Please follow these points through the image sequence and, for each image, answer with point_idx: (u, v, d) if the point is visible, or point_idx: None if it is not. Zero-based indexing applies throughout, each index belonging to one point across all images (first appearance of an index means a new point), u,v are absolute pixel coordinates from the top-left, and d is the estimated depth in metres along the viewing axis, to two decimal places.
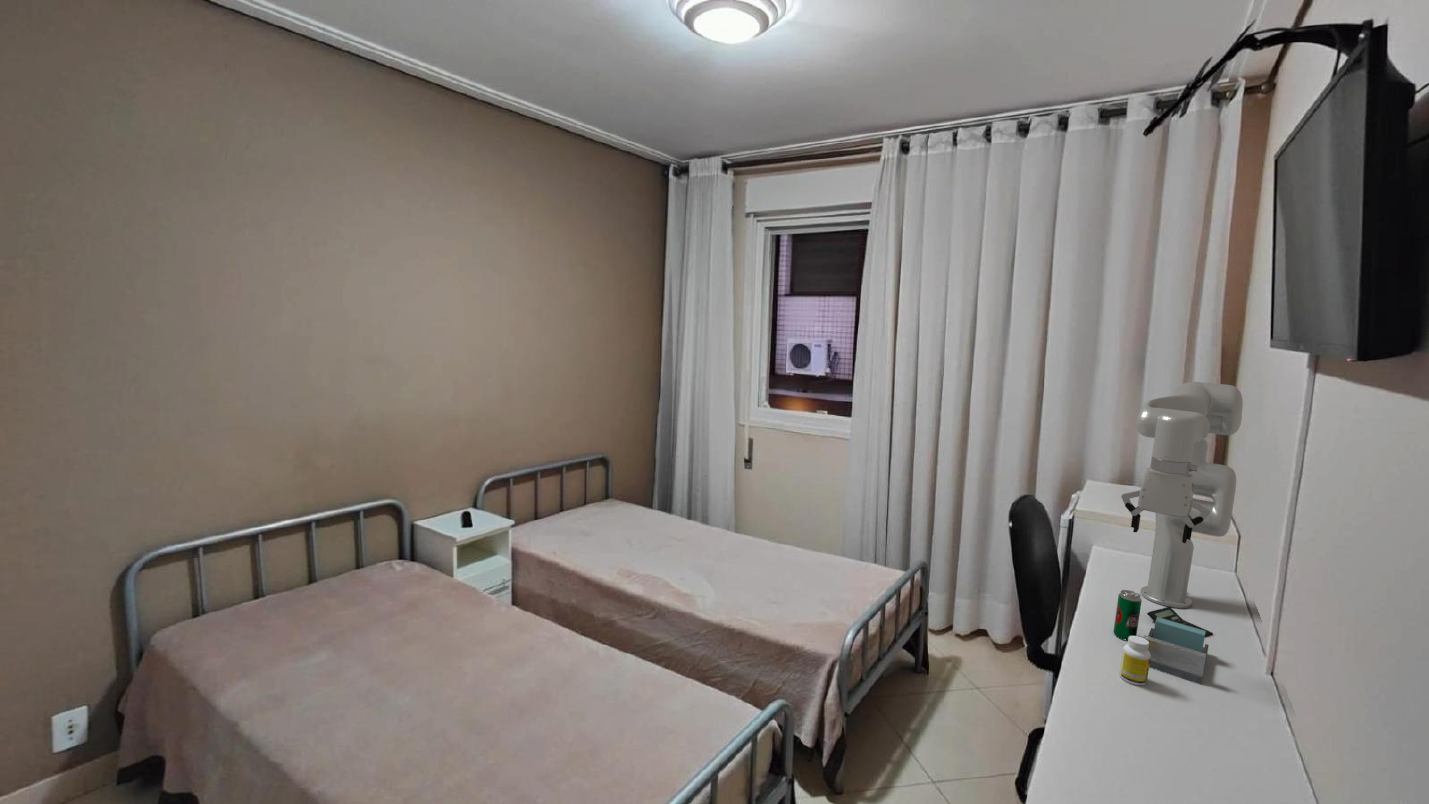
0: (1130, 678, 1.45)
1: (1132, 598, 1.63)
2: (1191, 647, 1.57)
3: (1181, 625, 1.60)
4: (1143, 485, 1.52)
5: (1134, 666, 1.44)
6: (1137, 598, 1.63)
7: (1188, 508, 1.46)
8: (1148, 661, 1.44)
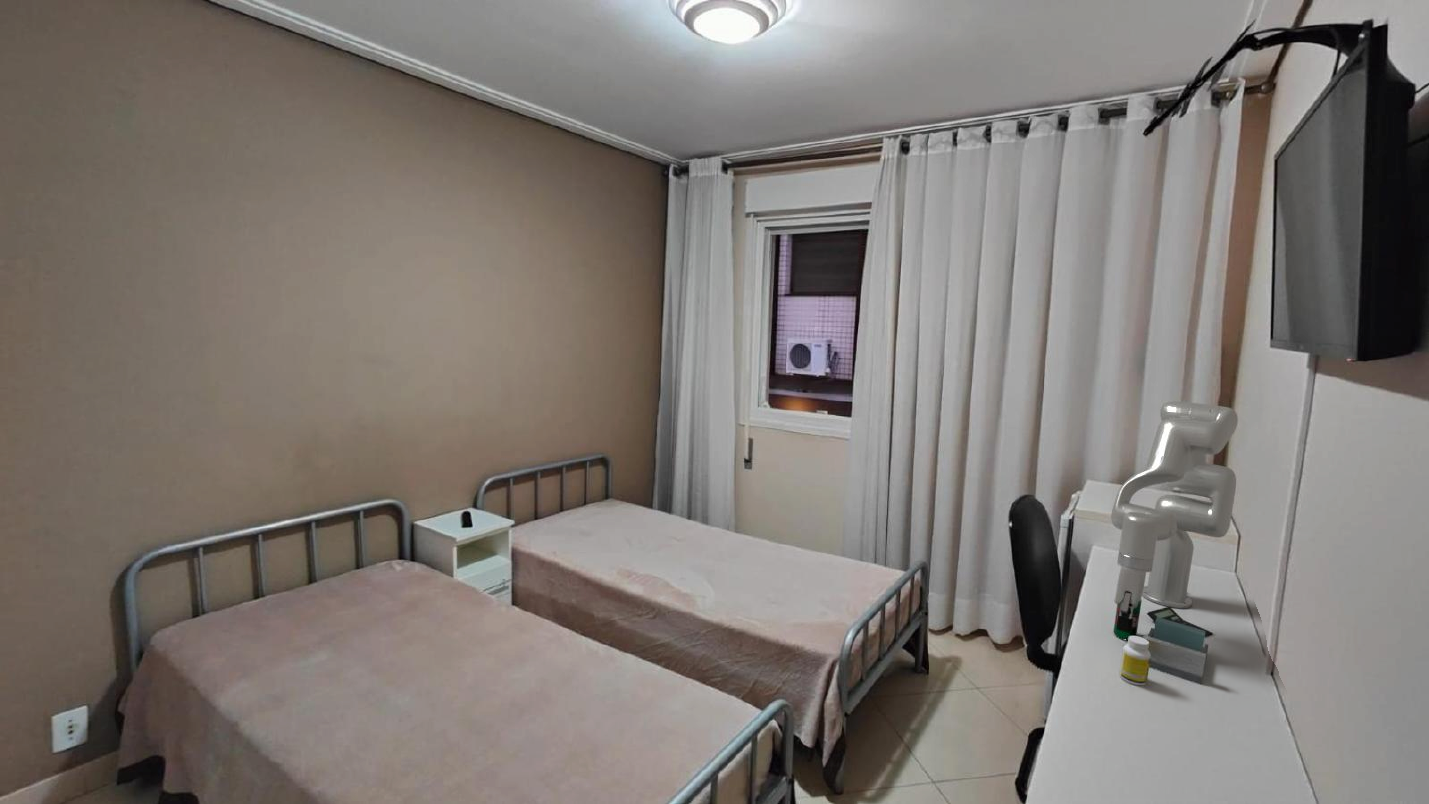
0: (1130, 678, 1.45)
1: None
2: (1191, 647, 1.57)
3: (1181, 625, 1.60)
4: (1138, 587, 1.60)
5: (1134, 666, 1.44)
6: None
7: None
8: (1148, 661, 1.44)
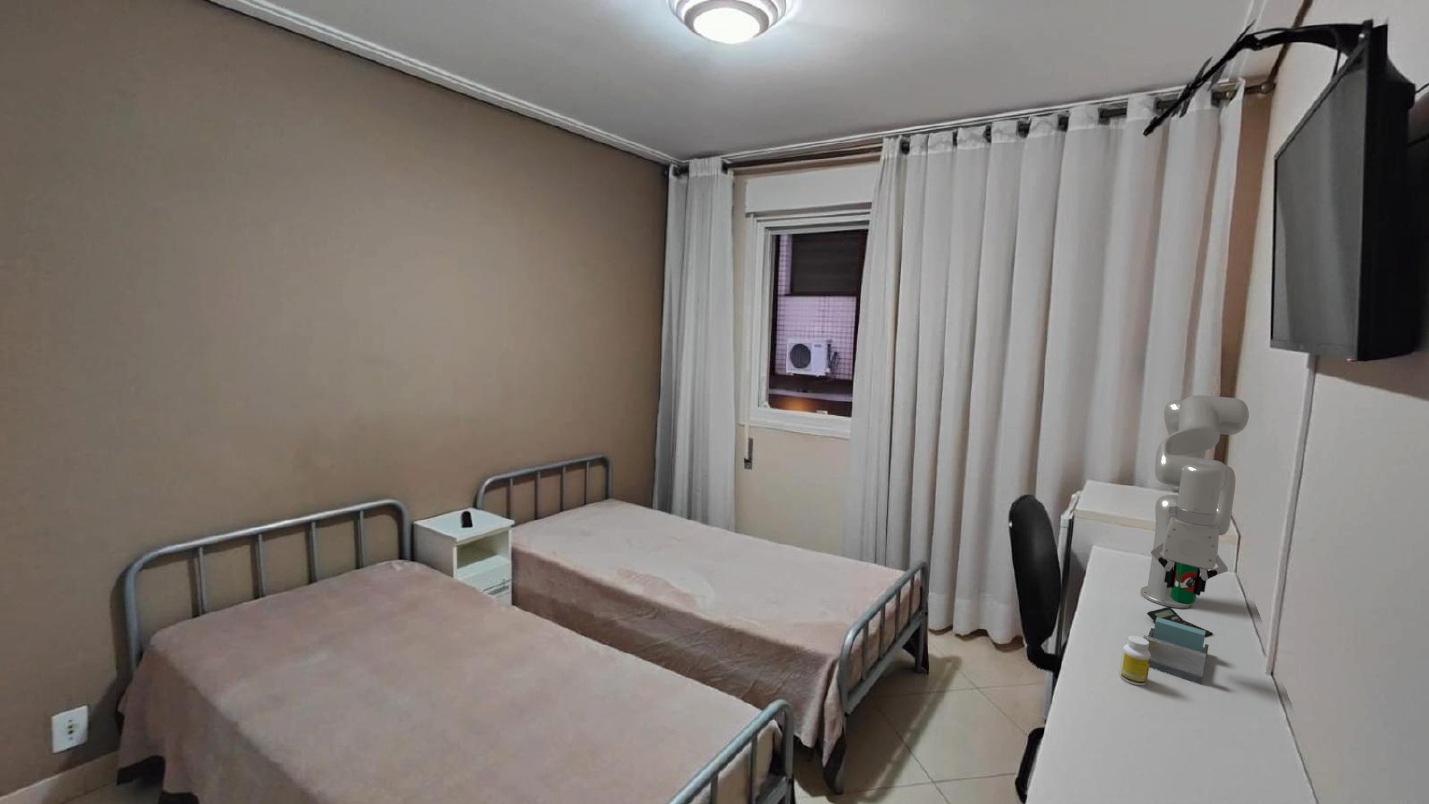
0: (1130, 678, 1.45)
1: None
2: (1191, 647, 1.57)
3: (1181, 625, 1.60)
4: None
5: (1134, 666, 1.44)
6: None
7: None
8: (1148, 661, 1.44)
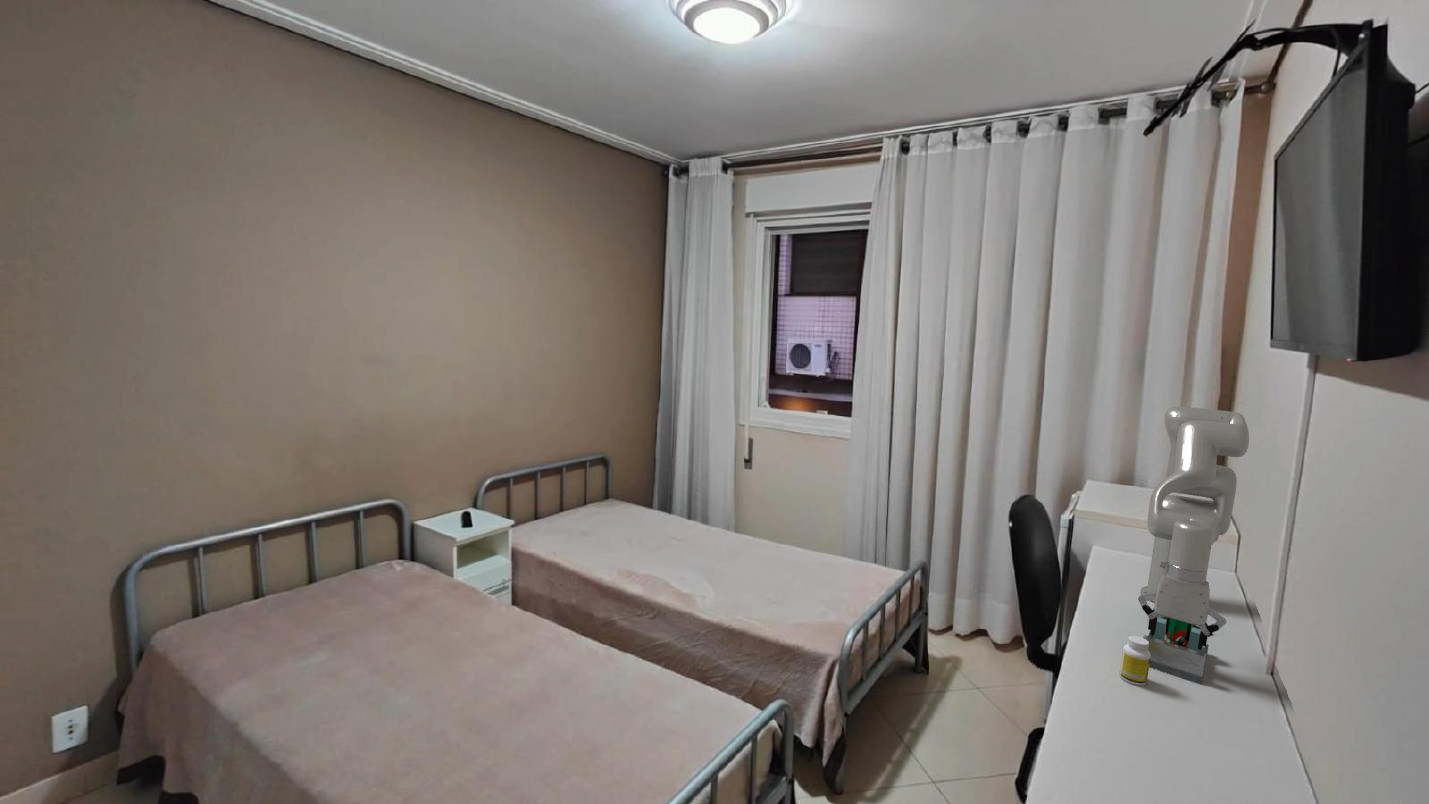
0: (1130, 678, 1.45)
1: None
2: (1191, 647, 1.57)
3: None
4: None
5: (1134, 666, 1.44)
6: None
7: None
8: (1148, 661, 1.44)
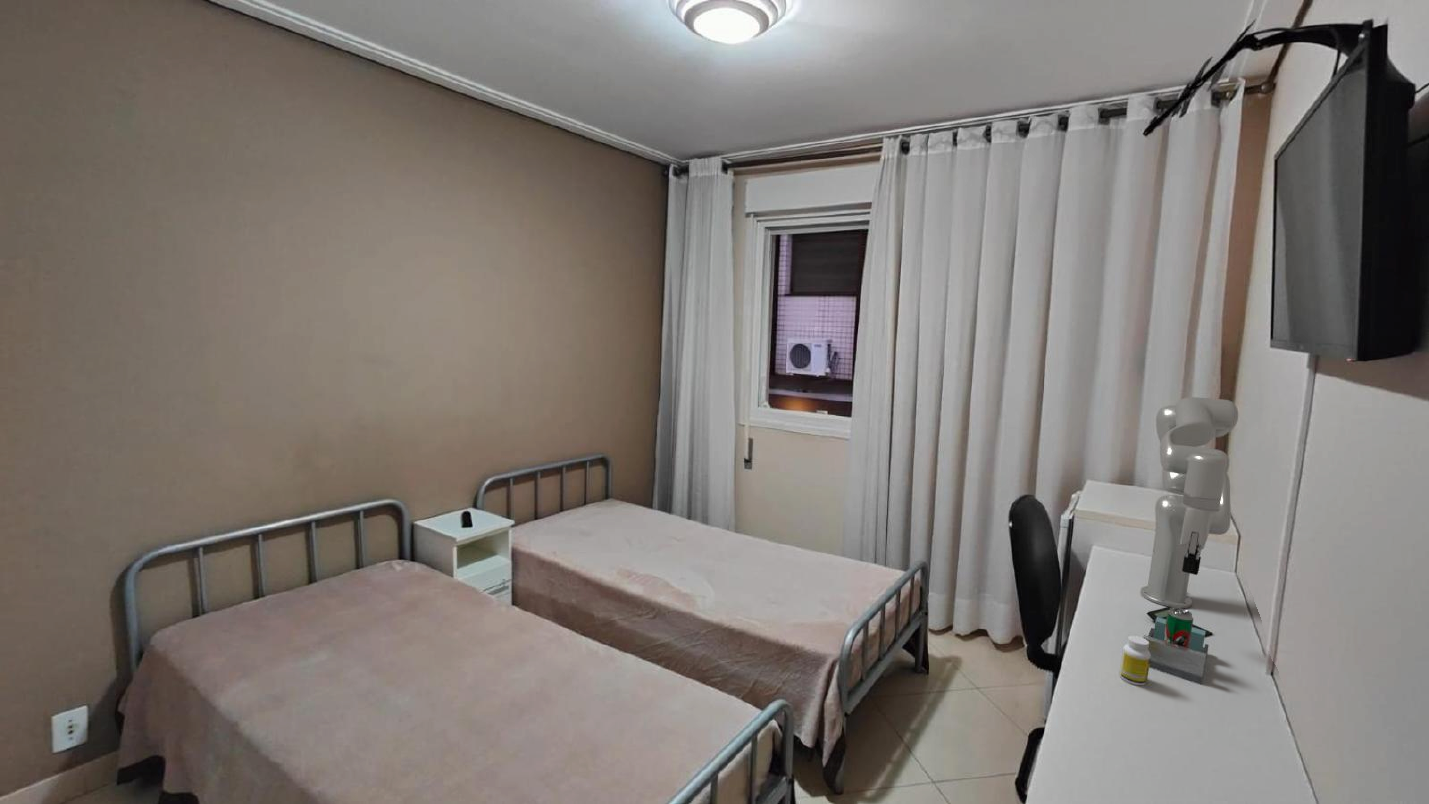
0: (1130, 678, 1.45)
1: None
2: (1191, 647, 1.57)
3: None
4: (1206, 528, 1.56)
5: (1134, 666, 1.44)
6: None
7: None
8: (1148, 661, 1.44)
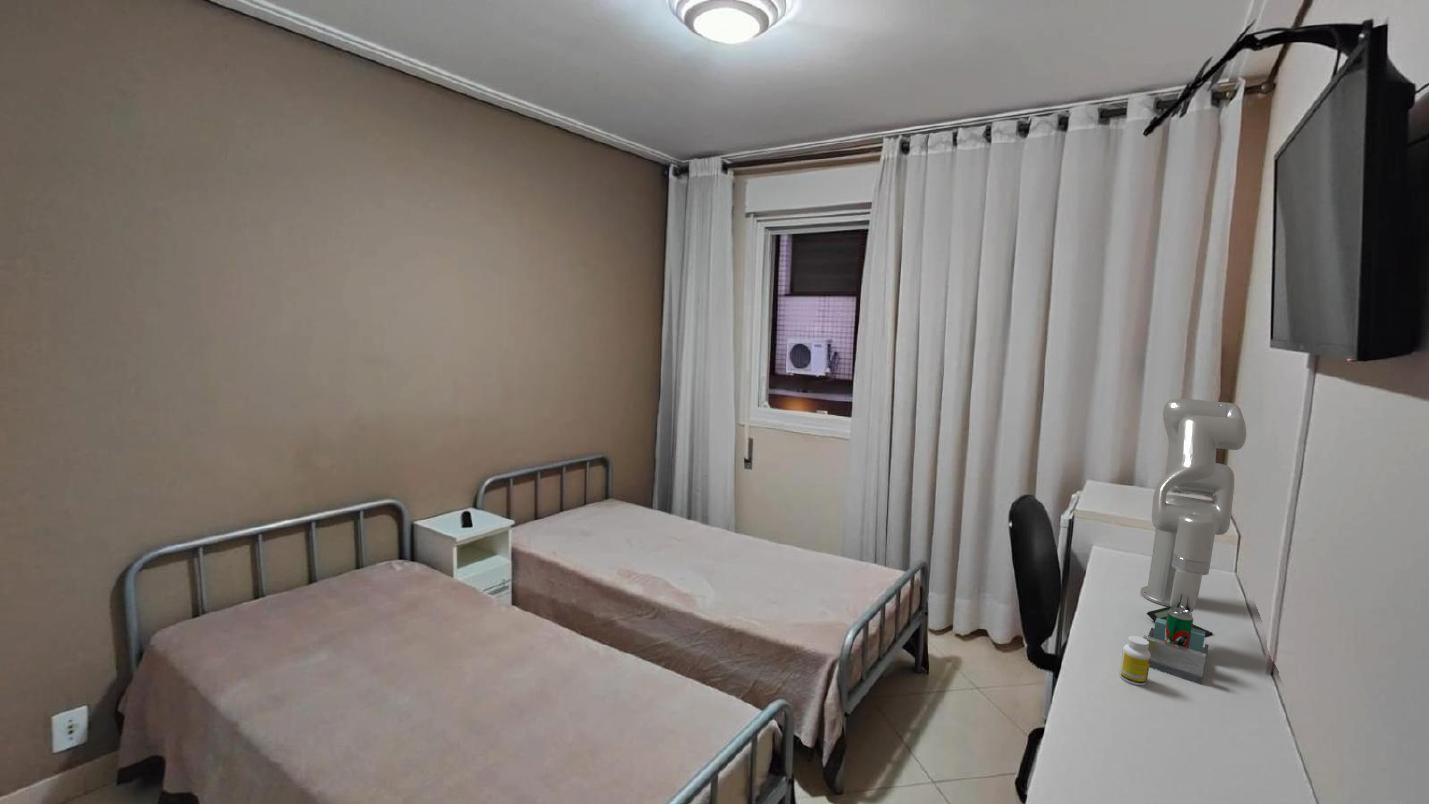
0: (1130, 678, 1.45)
1: None
2: (1191, 648, 1.57)
3: None
4: (1196, 591, 1.56)
5: (1134, 666, 1.44)
6: None
7: None
8: (1148, 661, 1.44)
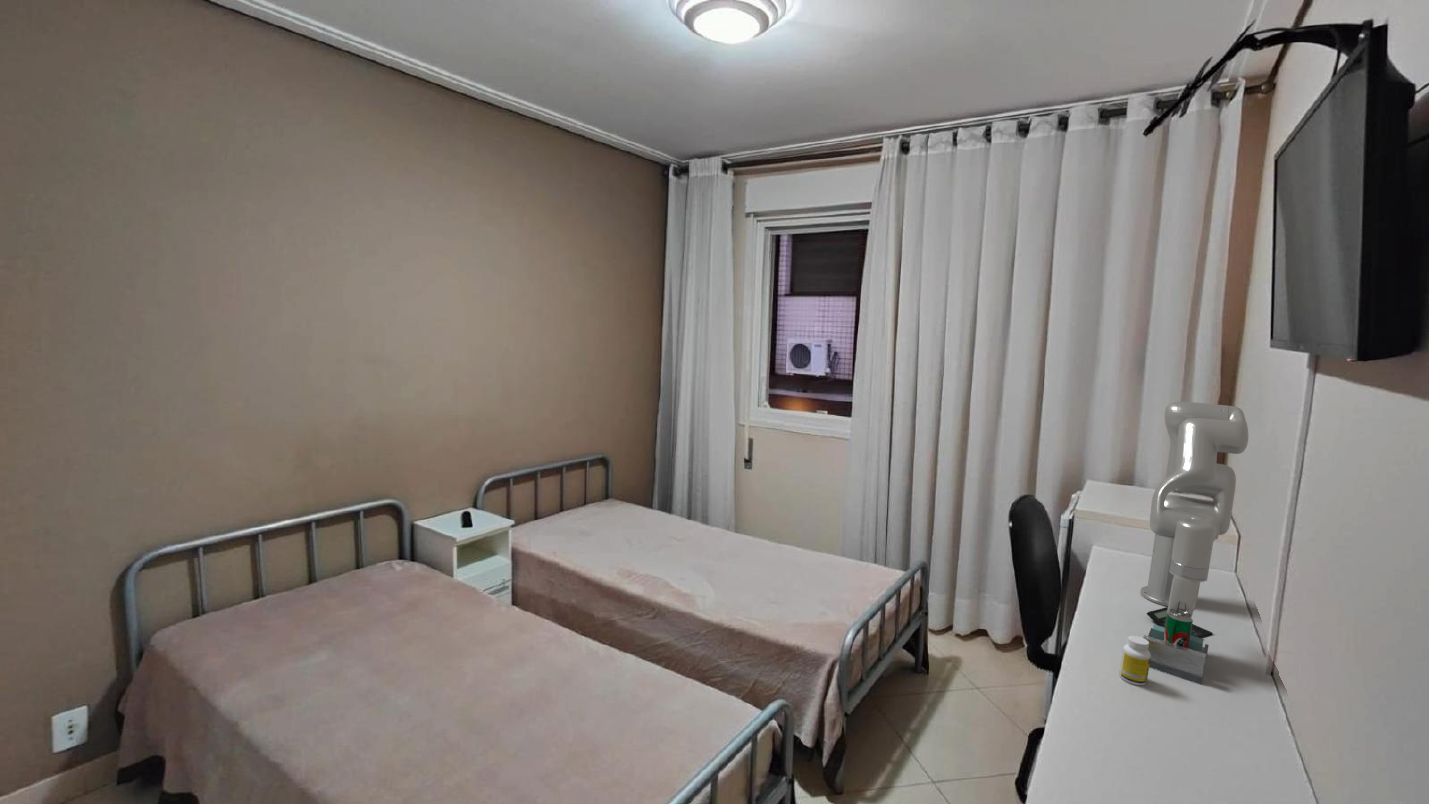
0: (1130, 678, 1.45)
1: None
2: None
3: None
4: (1194, 598, 1.52)
5: (1134, 666, 1.44)
6: None
7: None
8: (1148, 661, 1.44)
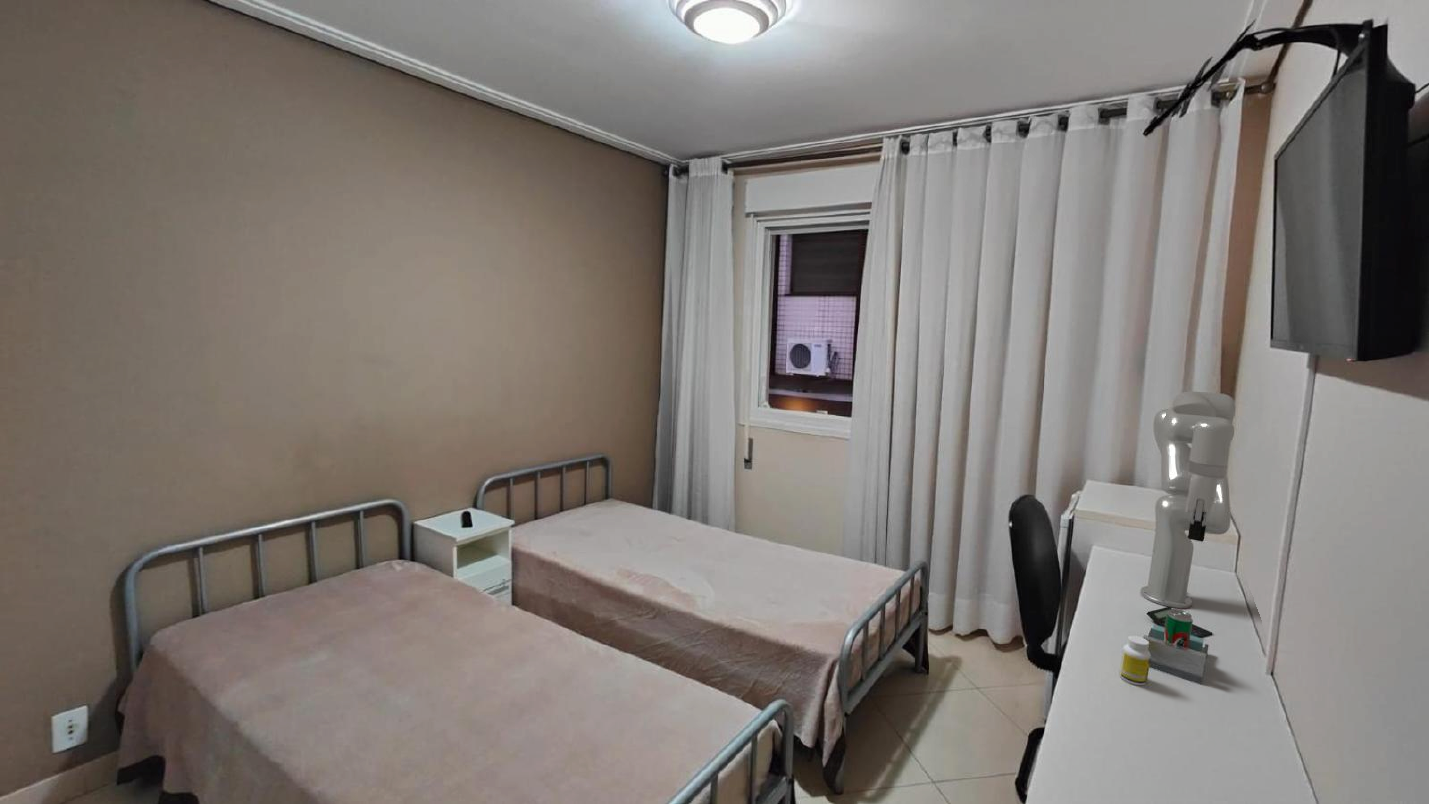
0: (1130, 678, 1.45)
1: None
2: None
3: None
4: (1212, 494, 1.57)
5: (1134, 666, 1.44)
6: None
7: None
8: (1148, 661, 1.44)
